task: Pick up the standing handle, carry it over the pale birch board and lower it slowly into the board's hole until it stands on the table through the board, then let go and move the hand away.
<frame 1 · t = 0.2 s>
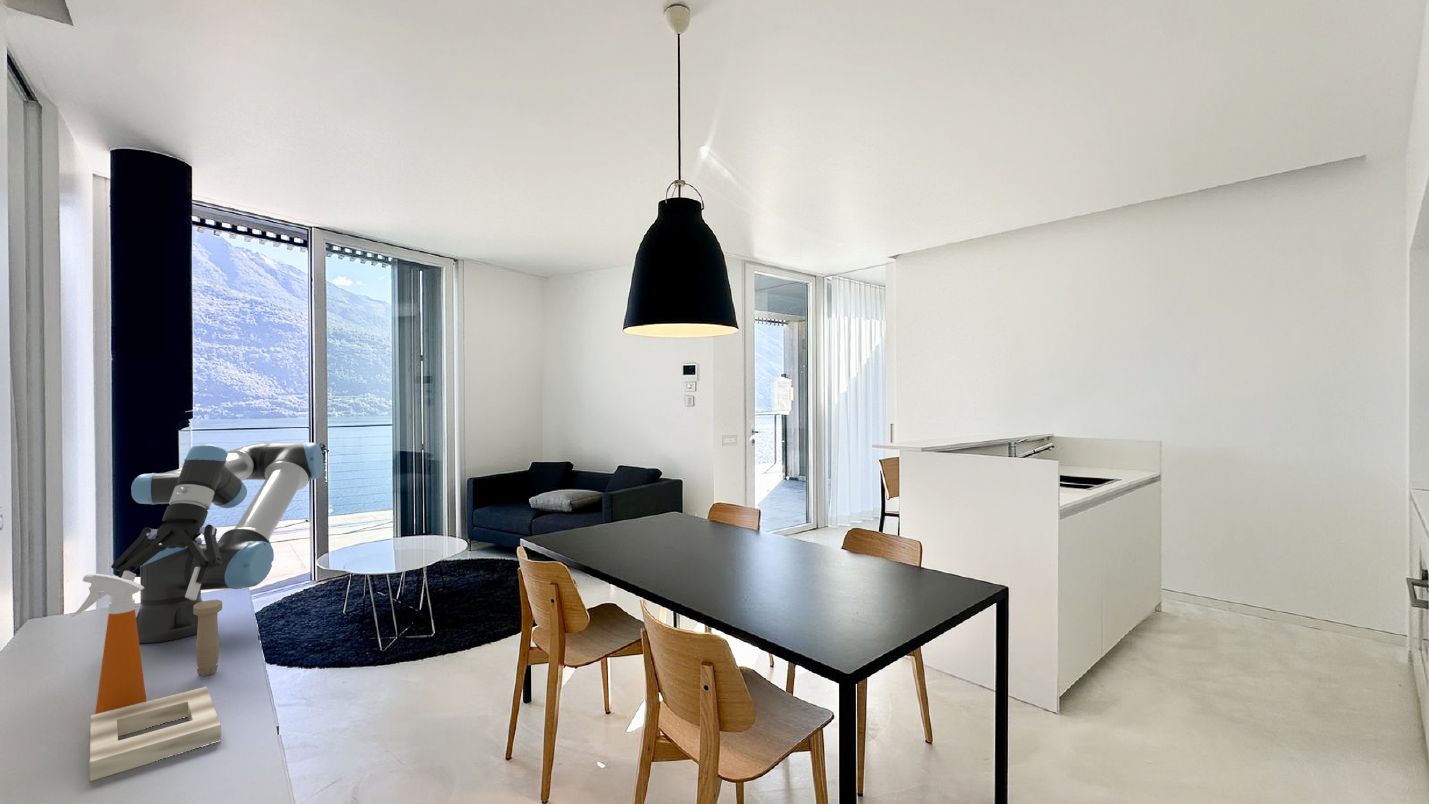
hand: (154, 600, 132), 16 cm above the table, tool tilted 30°, fingers open, 13 cm apart
board: (154, 736, 109), on the table
spray bottle: (108, 712, 118), on the table
handle: (207, 674, 134), on the table
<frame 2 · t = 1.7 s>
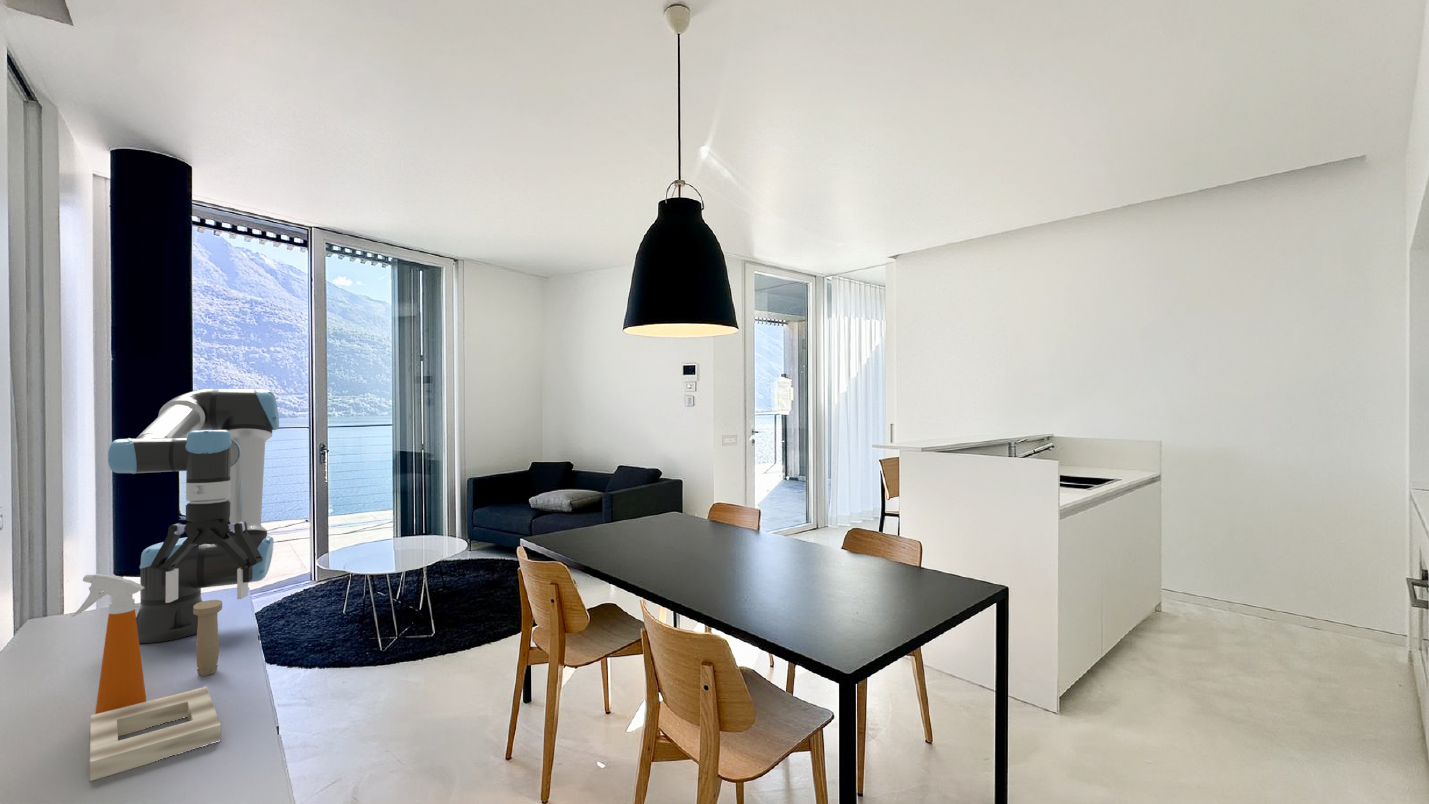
hand: (207, 599, 134), 16 cm above the table, tool pointing down, fingers open, 13 cm apart
nothing on the table moved.
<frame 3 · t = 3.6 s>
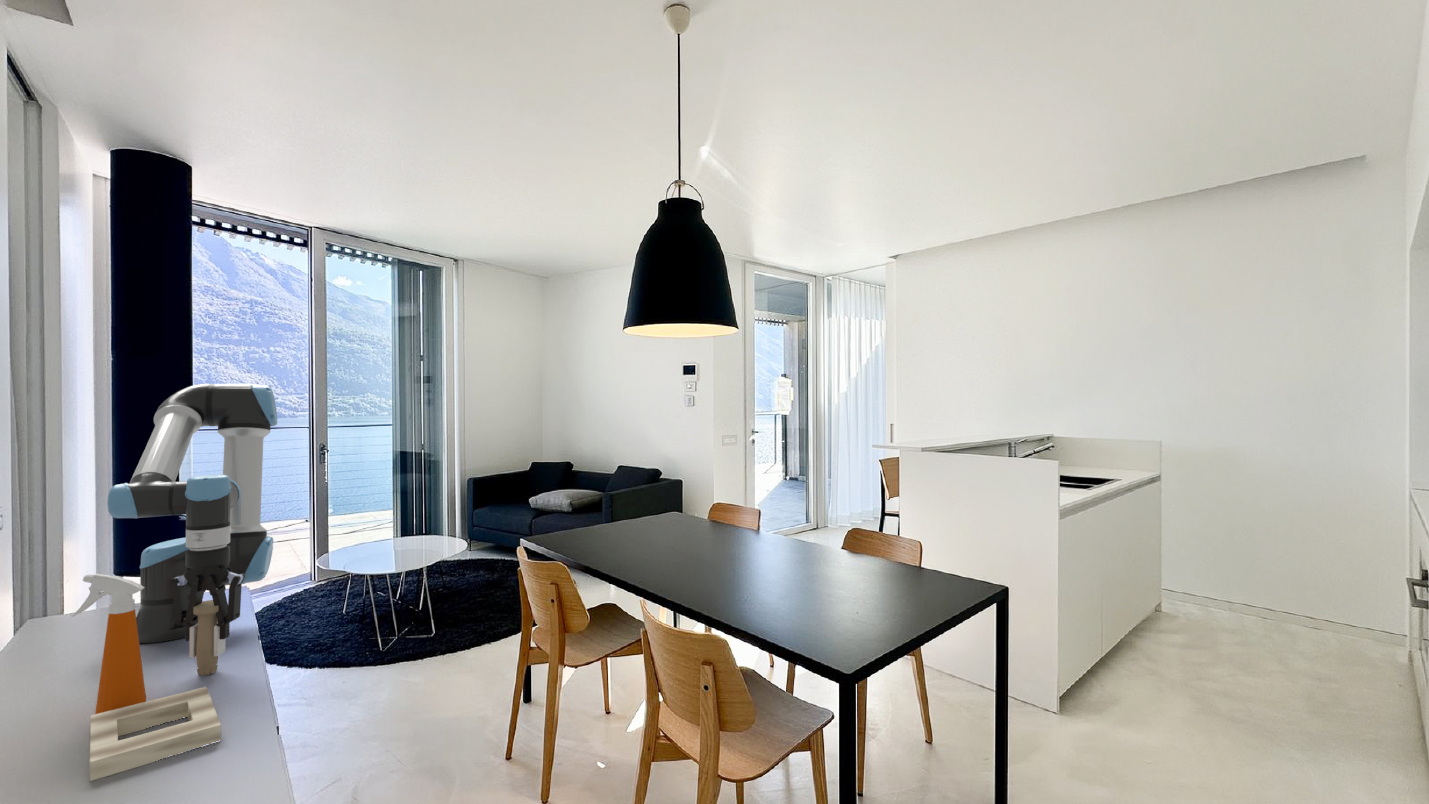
hand: (207, 654, 134), 4 cm above the table, tool pointing down, fingers closed on handle, 4 cm apart
handle: (207, 674, 134), on the table, touching gripper
everything else where it was.
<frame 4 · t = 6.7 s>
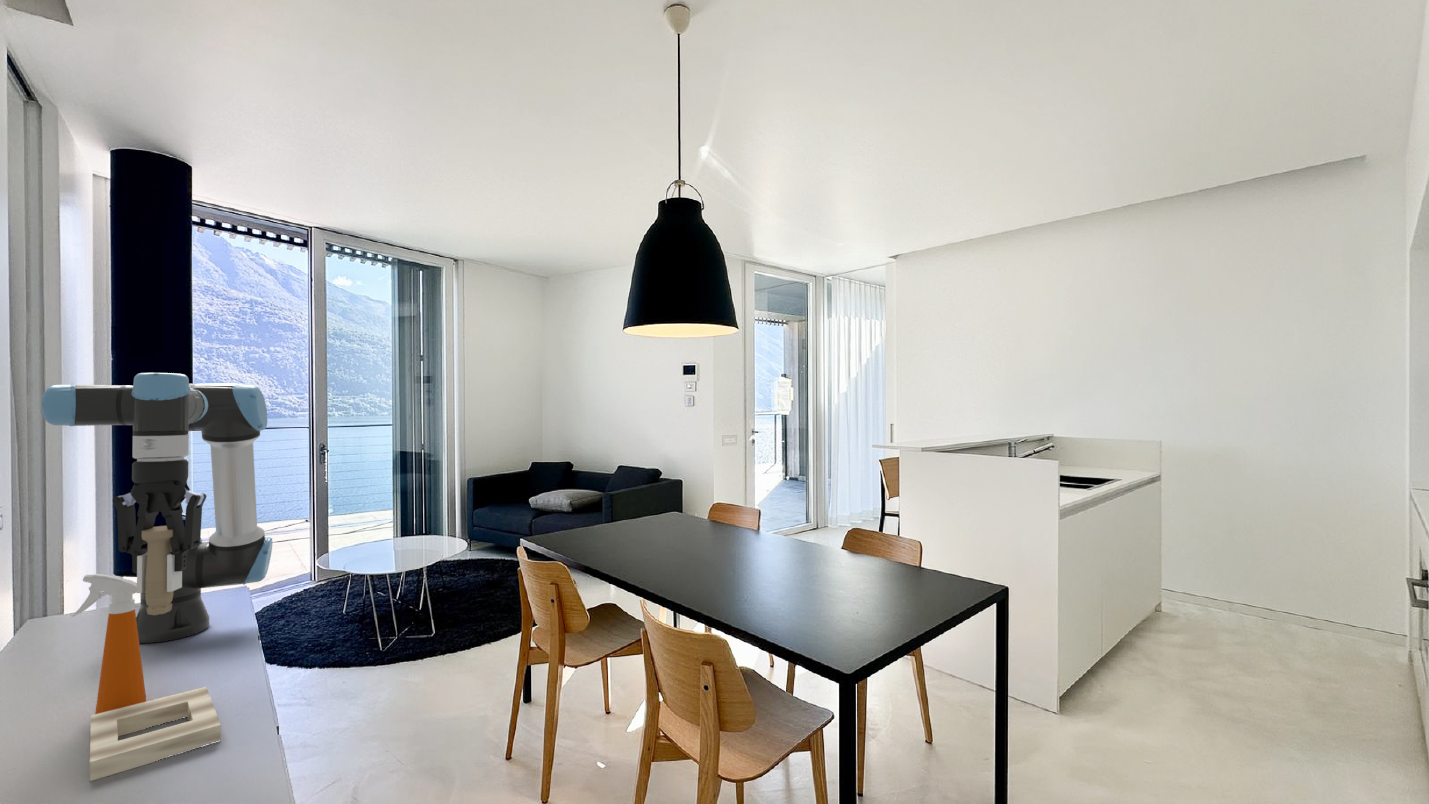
hand: (159, 589, 110), 25 cm above the table, tool pointing down, fingers closed on handle, 4 cm apart
handle: (159, 613, 110), point 21 cm above the table, touching gripper
everything else where it was.
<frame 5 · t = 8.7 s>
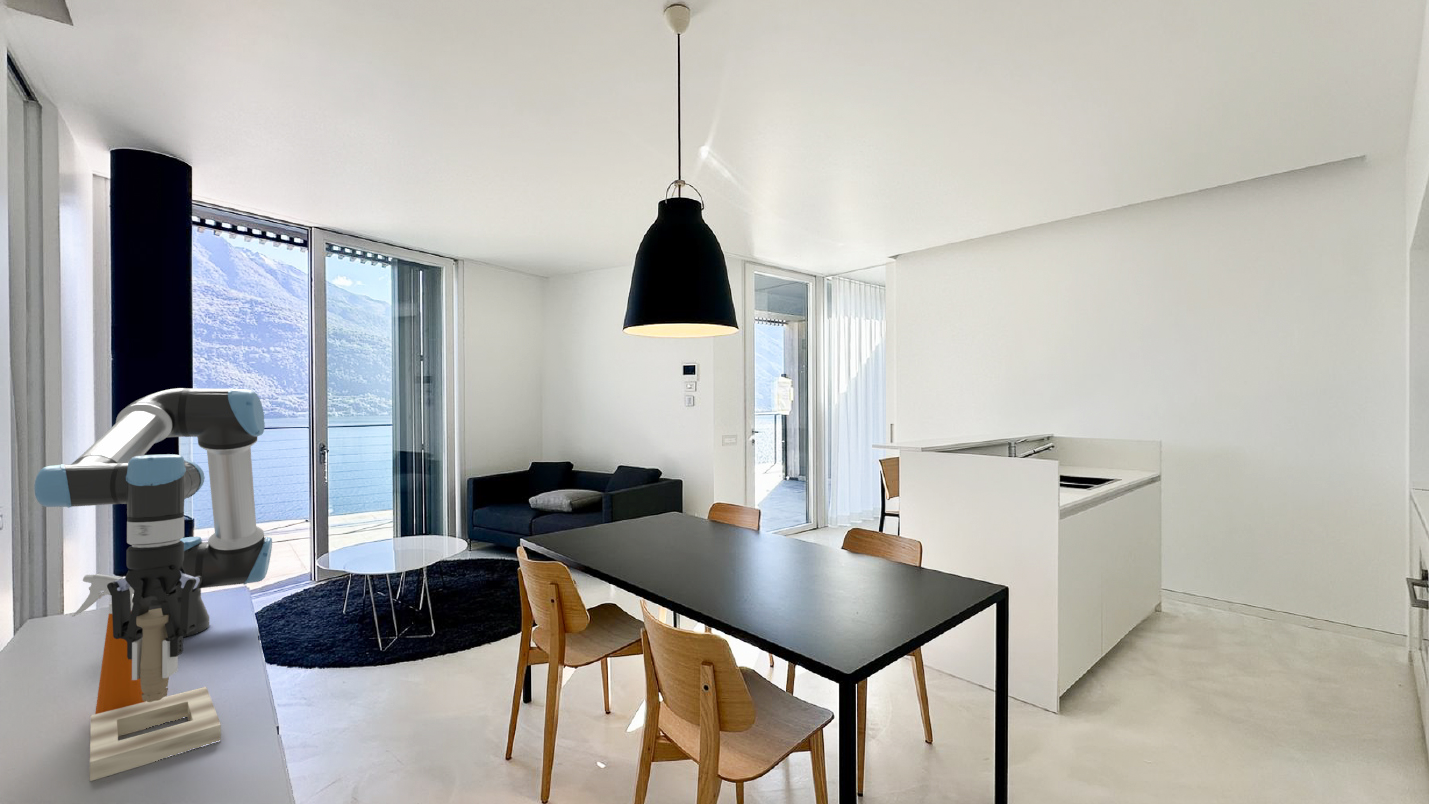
hand: (155, 675, 109), 11 cm above the table, tool pointing down, fingers closed on handle, 4 cm apart
handle: (154, 699, 109), point 7 cm above the table, touching gripper
everything else where it was.
when the fingers open (5 cm above the table, at t = 10.1 s): handle stays where it is, resting in board.
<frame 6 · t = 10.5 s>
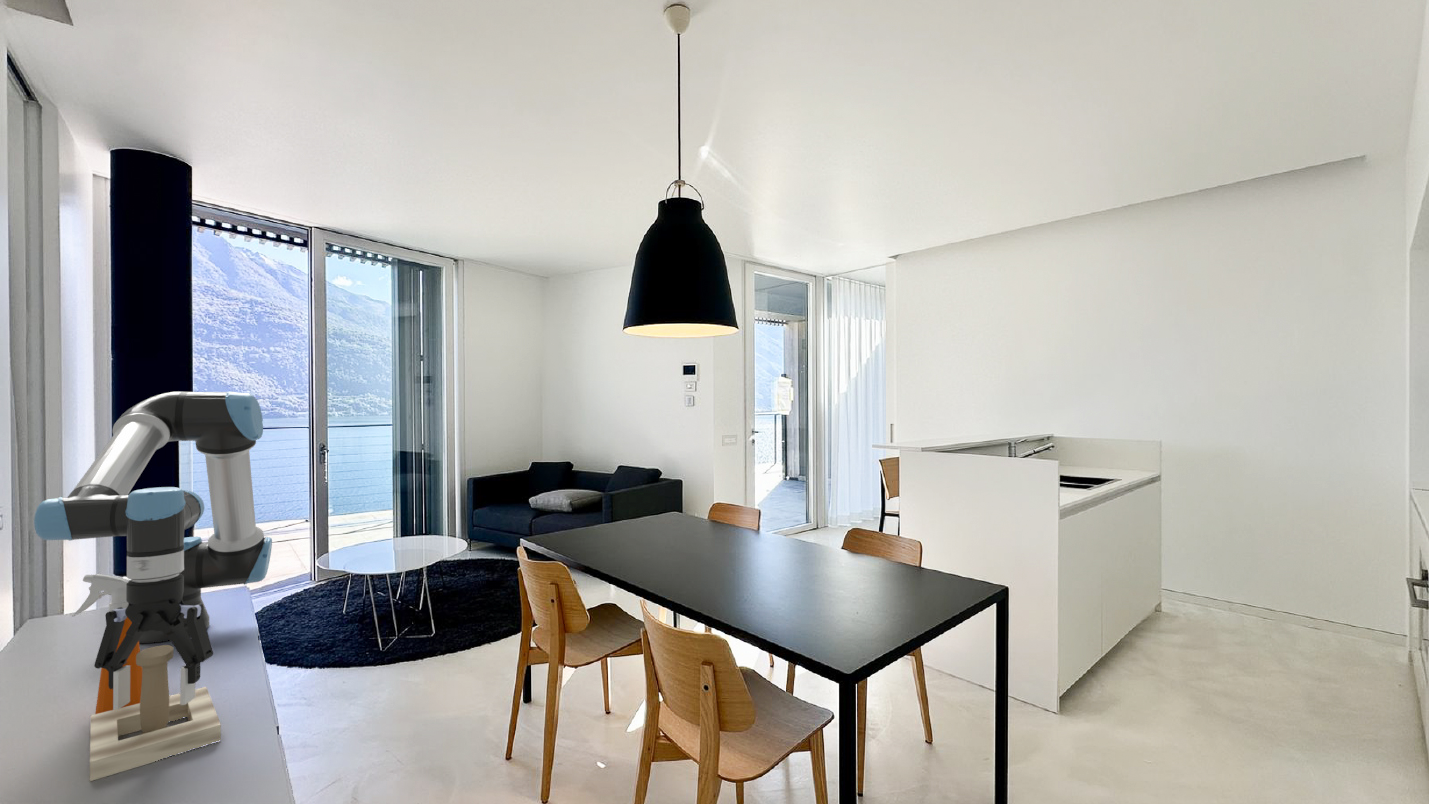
hand: (155, 703, 109), 6 cm above the table, tool pointing down, fingers open, 9 cm apart
handle: (154, 737, 109), resting in board
everything else where it was.
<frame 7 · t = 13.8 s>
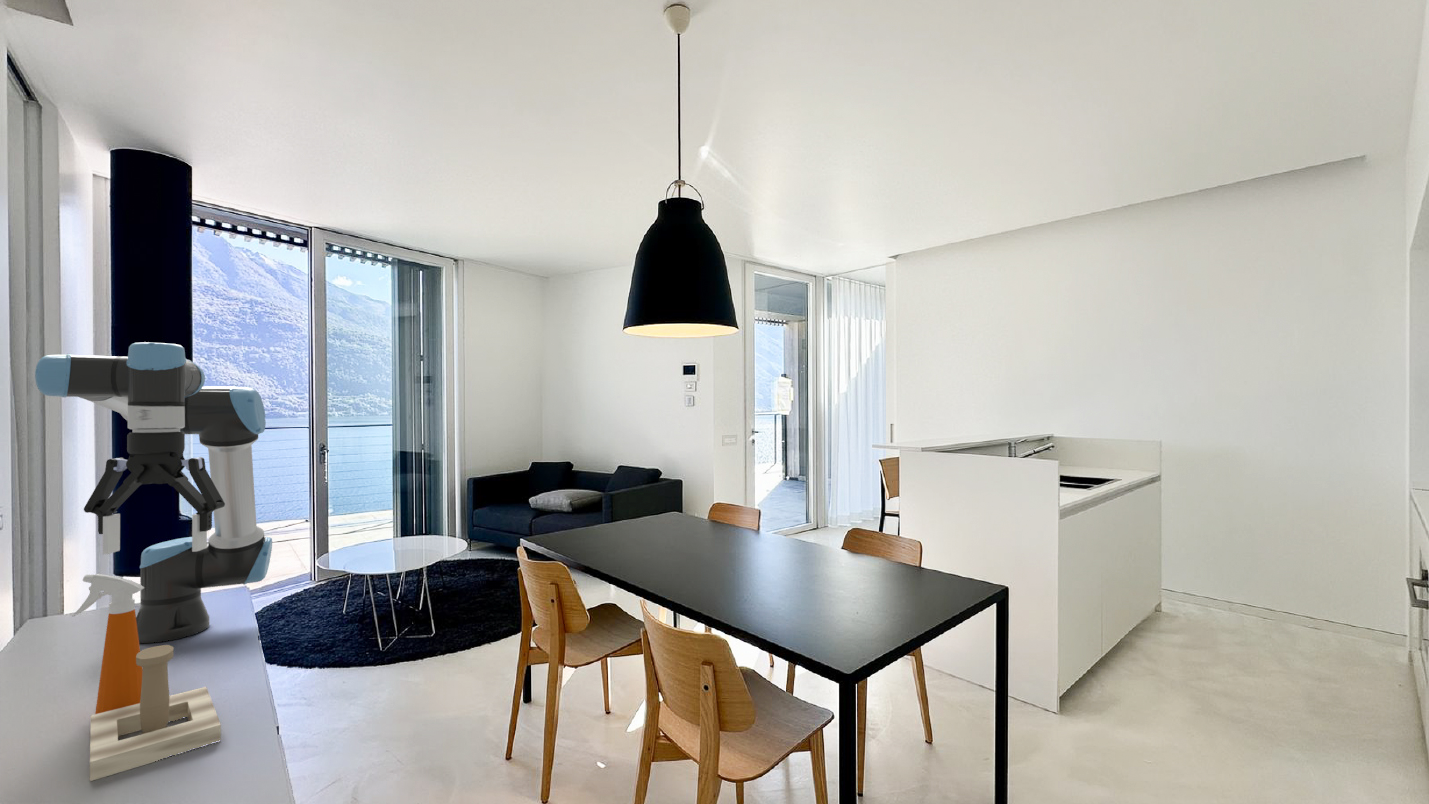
hand: (155, 551, 109), 33 cm above the table, tool pointing down, fingers open, 13 cm apart
nothing on the table moved.
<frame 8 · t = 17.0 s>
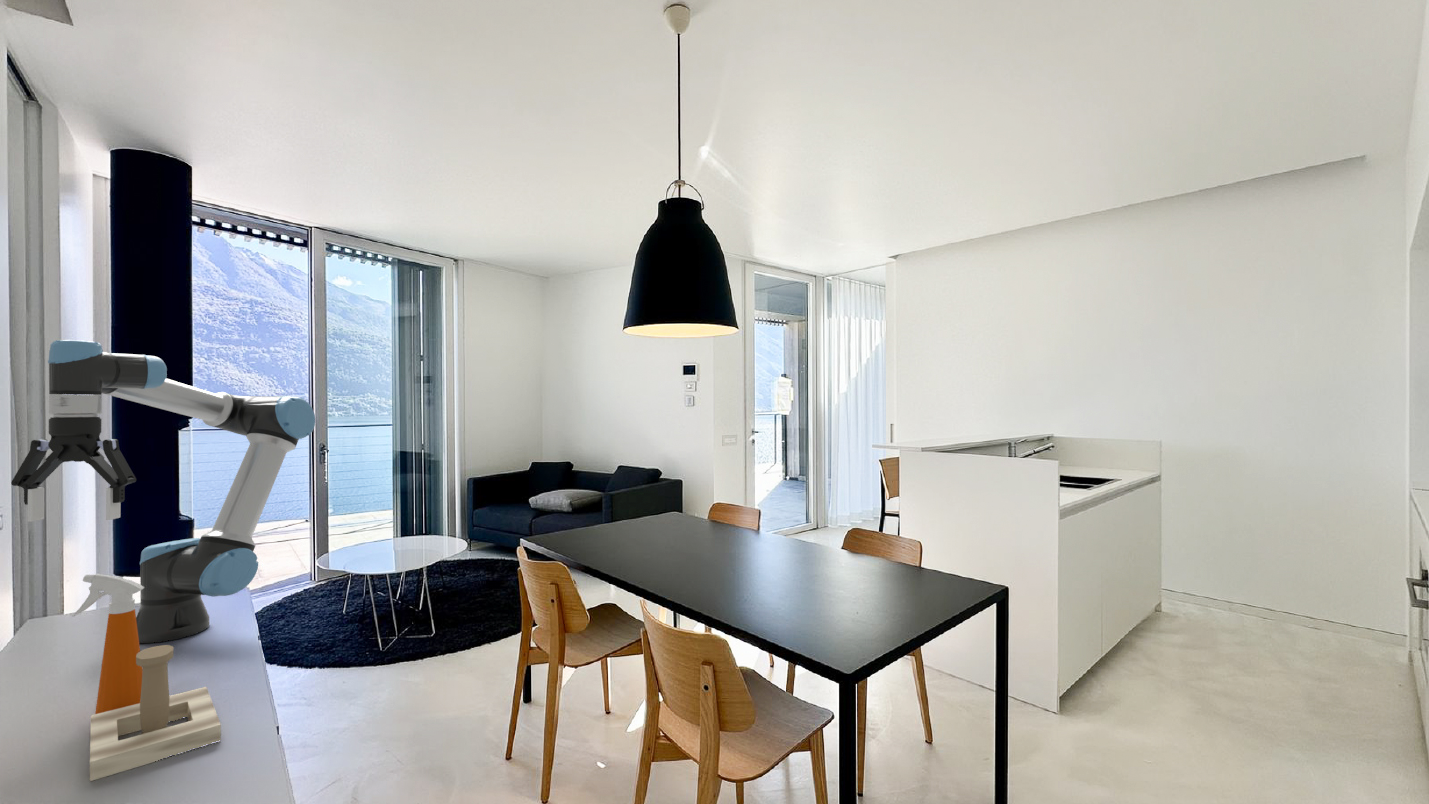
hand: (75, 519, 126), 35 cm above the table, tool pointing down, fingers open, 13 cm apart
nothing on the table moved.
at the end: handle 0.0 cm off-centre on the board, point 0.0 cm above the board's base; handle tilted 0°; the gripper is holding nothing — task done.
